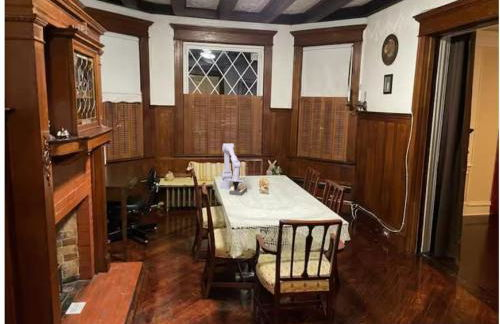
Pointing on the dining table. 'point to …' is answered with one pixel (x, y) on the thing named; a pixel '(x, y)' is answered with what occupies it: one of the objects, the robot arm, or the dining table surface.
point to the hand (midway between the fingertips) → (235, 189)
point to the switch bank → (238, 191)
